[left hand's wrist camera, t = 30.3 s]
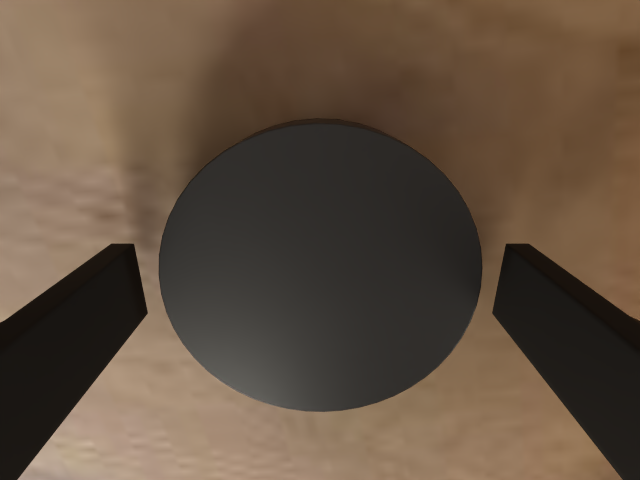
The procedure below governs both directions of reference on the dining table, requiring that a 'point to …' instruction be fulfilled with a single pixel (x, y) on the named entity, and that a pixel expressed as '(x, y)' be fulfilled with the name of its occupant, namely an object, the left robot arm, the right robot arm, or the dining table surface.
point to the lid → (320, 266)
